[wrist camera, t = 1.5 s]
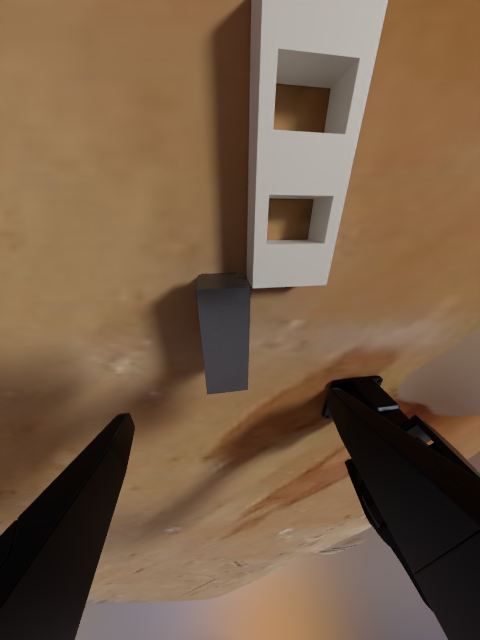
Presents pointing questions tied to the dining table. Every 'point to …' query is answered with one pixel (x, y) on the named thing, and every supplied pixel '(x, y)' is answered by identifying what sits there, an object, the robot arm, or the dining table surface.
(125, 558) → the dining table surface
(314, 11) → the rail
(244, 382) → the dark grey blocky piece
